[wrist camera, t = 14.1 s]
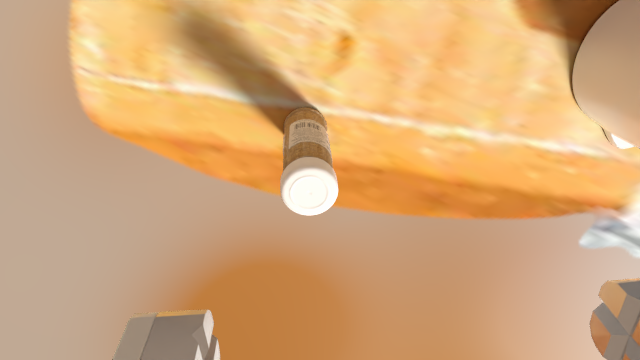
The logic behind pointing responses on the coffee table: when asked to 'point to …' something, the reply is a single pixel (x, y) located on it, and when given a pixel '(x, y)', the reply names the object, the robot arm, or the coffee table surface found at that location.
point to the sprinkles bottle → (307, 163)
